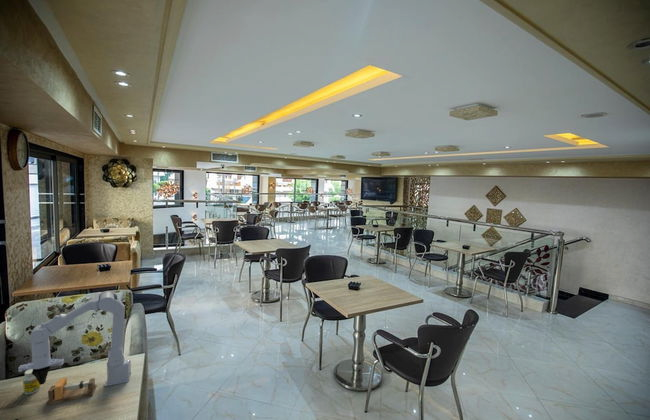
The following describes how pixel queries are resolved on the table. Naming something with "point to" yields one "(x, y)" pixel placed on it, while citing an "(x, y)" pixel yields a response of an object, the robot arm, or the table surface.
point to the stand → (72, 393)
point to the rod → (75, 385)
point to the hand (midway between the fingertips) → (42, 382)
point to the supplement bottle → (30, 382)
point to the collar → (60, 388)
